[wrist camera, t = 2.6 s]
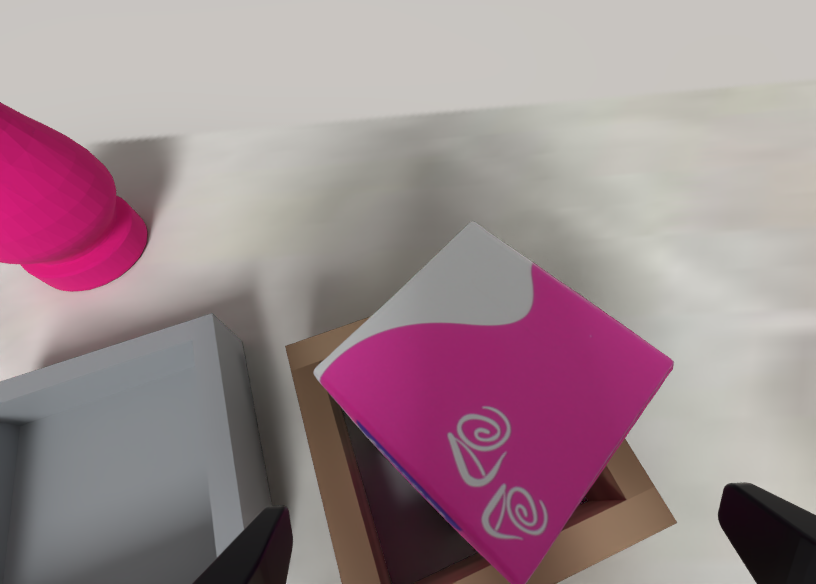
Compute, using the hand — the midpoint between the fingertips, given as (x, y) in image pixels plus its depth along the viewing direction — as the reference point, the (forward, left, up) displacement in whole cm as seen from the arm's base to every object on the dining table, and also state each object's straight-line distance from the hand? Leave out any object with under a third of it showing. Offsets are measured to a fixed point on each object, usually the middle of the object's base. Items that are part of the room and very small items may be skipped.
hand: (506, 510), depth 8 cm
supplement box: (+1, +3, -10) cm, 11 cm away
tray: (-13, +6, -10) cm, 17 cm away
